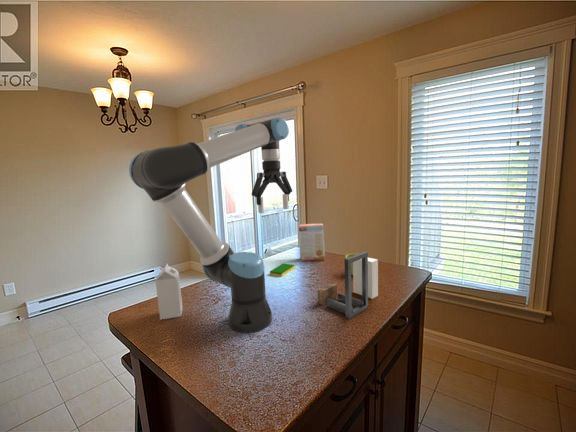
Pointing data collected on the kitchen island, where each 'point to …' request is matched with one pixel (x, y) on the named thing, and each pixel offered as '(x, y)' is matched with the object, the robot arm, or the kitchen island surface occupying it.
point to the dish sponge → (282, 270)
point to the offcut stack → (327, 293)
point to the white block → (371, 277)
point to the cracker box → (311, 242)
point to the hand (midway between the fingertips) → (273, 210)
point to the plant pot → (351, 263)
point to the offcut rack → (347, 297)
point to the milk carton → (169, 293)
